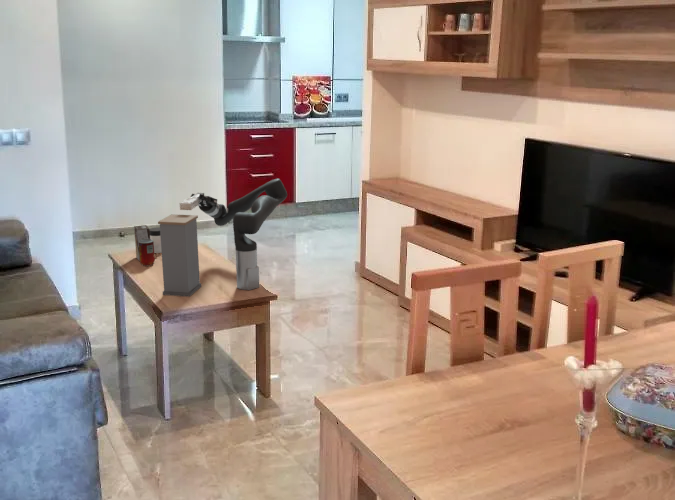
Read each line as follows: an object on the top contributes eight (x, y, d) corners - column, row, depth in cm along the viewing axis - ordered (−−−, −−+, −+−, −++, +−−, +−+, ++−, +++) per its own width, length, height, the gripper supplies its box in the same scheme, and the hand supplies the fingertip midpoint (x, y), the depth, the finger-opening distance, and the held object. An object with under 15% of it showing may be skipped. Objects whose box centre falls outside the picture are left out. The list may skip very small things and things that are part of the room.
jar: (148, 254, 368) (146, 231, 365) (150, 250, 376) (148, 227, 372) (166, 253, 369) (164, 230, 366) (167, 249, 377) (166, 227, 374)
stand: (189, 296, 304) (185, 222, 296) (162, 294, 306) (157, 221, 298) (201, 286, 318) (197, 215, 309) (175, 284, 320) (171, 214, 311)
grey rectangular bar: (190, 210, 311) (190, 203, 310) (180, 209, 312) (179, 203, 311) (206, 199, 329) (205, 193, 328) (196, 199, 329) (195, 192, 329)
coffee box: (152, 260, 357) (149, 228, 353) (139, 261, 355) (136, 230, 350) (148, 255, 365) (146, 224, 361) (135, 257, 363) (133, 226, 358)
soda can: (158, 263, 352) (156, 239, 348) (147, 267, 346) (145, 242, 343) (147, 261, 355) (145, 237, 352) (137, 265, 349) (135, 240, 346)
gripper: (222, 214, 338) (210, 204, 321) (194, 213, 340) (180, 203, 323) (224, 198, 339) (212, 188, 322) (195, 197, 342) (182, 187, 325)
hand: (196, 195), depth 323 cm, fingers closed on grey rectangular bar, 3 cm apart
